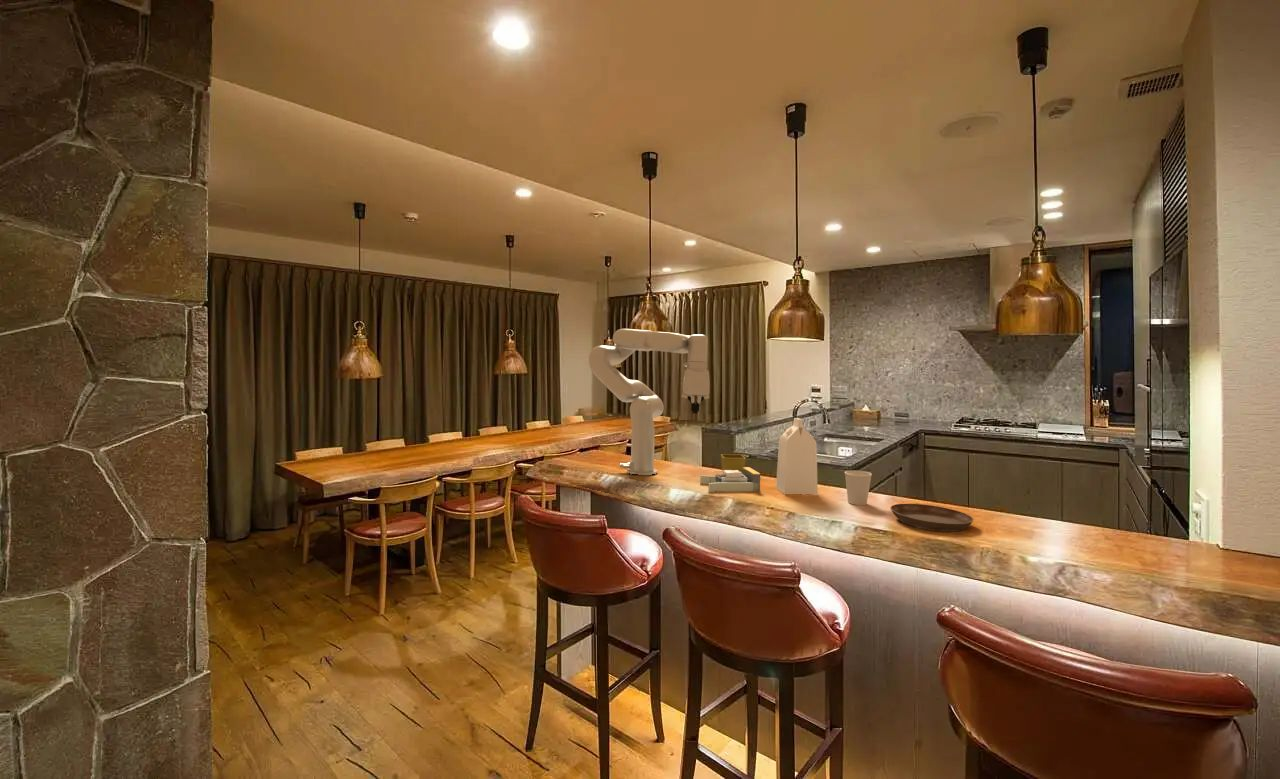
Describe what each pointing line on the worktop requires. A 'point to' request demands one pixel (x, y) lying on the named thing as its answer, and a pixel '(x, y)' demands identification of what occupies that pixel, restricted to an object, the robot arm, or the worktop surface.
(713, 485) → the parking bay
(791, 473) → the milk
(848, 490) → the dixie cup
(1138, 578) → the worktop surface
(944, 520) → the plant saucer
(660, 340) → the robot arm
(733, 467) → the flower pot
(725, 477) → the trolley
